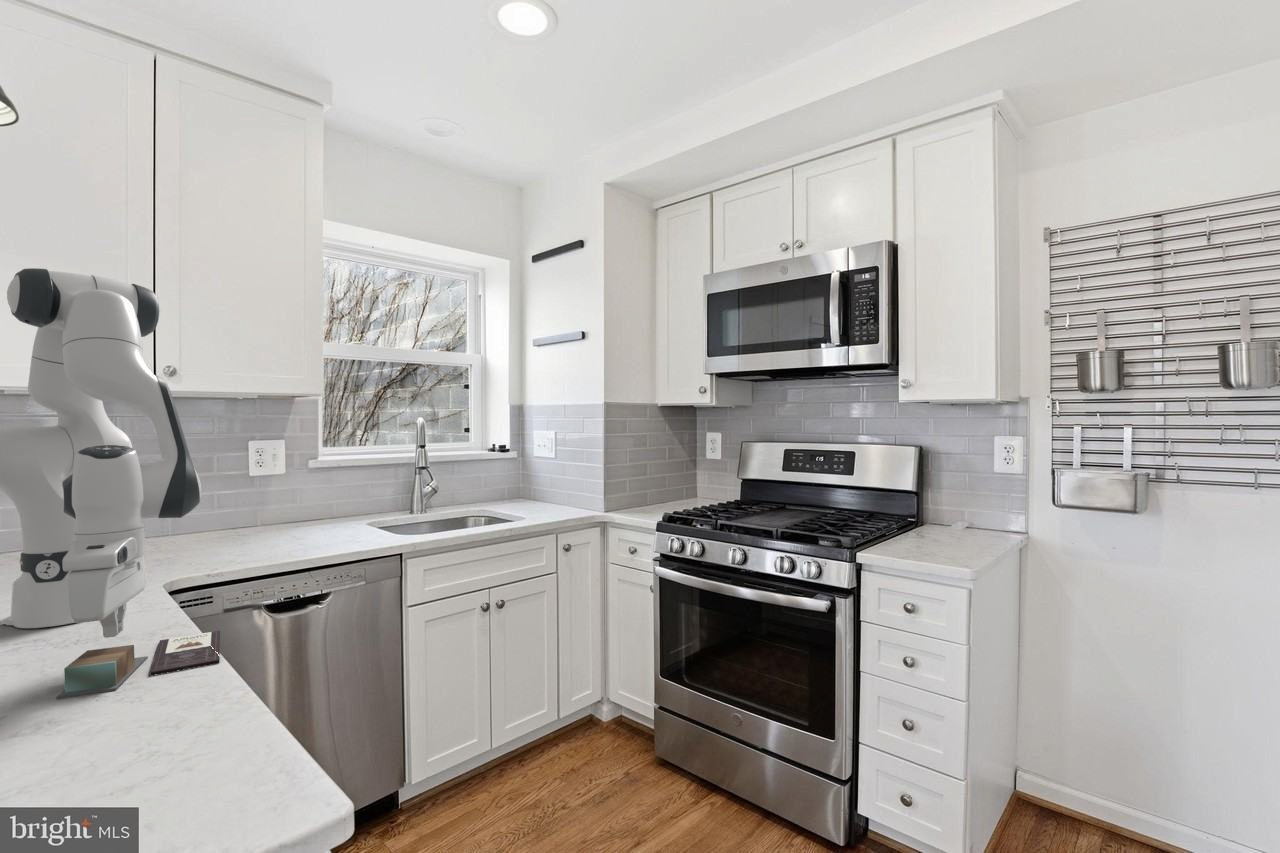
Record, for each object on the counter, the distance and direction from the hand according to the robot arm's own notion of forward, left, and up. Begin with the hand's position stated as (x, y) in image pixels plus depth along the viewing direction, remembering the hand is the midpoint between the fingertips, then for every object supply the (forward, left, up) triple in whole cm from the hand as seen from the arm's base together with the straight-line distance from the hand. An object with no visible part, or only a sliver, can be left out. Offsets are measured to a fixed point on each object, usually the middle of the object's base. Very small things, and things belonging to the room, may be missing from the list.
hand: (113, 634), depth 103 cm
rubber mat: (+3, 0, -6) cm, 6 cm away
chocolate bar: (-4, +9, -6) cm, 12 cm away
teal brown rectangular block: (+1, 0, -4) cm, 4 cm away
